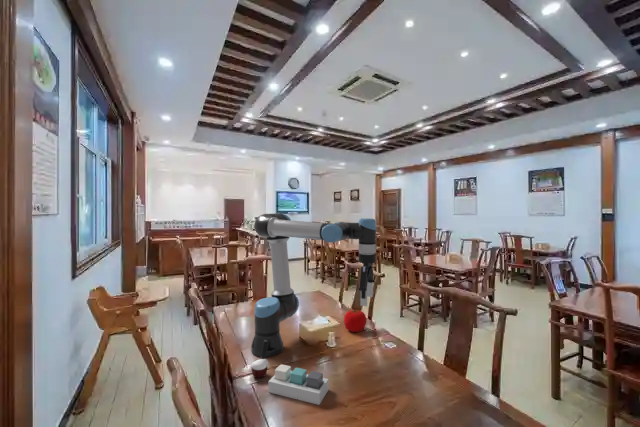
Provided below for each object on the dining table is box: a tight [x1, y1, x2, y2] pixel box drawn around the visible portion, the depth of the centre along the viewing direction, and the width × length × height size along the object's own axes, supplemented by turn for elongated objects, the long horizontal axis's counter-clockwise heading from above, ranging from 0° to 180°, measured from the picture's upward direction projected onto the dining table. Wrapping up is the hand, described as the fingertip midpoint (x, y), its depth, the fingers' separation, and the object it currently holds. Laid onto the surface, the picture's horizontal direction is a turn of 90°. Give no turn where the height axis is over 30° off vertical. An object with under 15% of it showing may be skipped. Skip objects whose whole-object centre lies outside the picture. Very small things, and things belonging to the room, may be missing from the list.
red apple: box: [343, 309, 367, 333], centre depth 166 cm, size 12×13×11 cm
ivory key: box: [274, 364, 292, 382], centre depth 114 cm, size 4×4×4 cm
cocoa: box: [250, 340, 269, 379], centre depth 122 cm, size 10×6×12 cm, turn 139°
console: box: [267, 370, 330, 406], centre depth 111 cm, size 20×9×4 cm, turn 68°
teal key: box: [291, 367, 308, 386], centre depth 111 cm, size 4×4×4 cm
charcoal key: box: [307, 370, 324, 390], centre depth 109 cm, size 4×4×4 cm
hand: (366, 301), depth 134 cm, fingers open, 13 cm apart
